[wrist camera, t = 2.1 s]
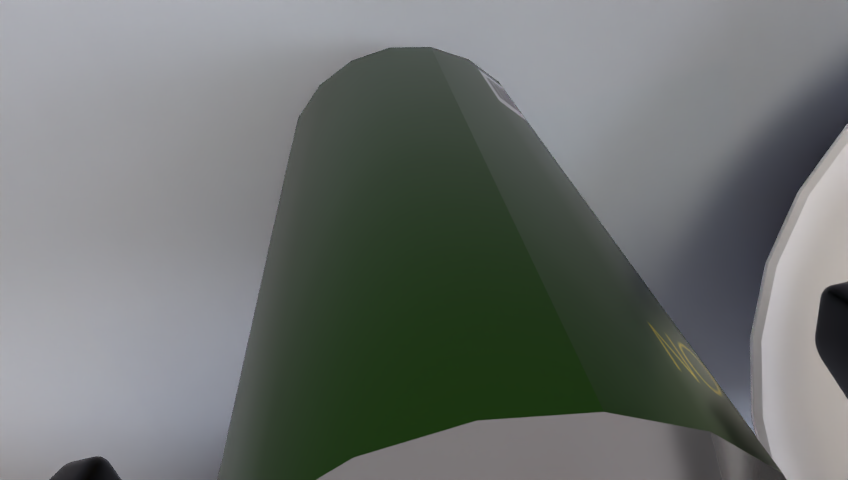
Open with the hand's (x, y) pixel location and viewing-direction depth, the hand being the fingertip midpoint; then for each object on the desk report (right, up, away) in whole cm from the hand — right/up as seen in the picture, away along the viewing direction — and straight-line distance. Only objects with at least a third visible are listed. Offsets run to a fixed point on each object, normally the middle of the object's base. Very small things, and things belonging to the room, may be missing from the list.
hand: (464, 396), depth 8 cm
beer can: (-1, +4, +7) cm, 8 cm away
